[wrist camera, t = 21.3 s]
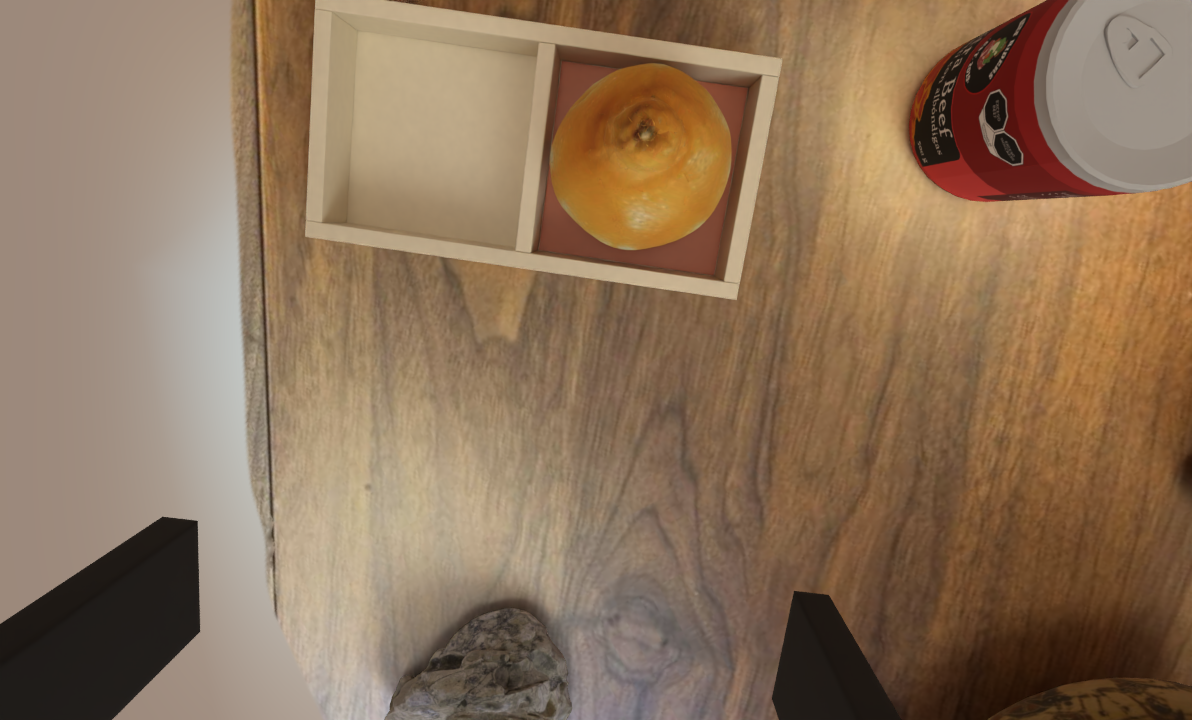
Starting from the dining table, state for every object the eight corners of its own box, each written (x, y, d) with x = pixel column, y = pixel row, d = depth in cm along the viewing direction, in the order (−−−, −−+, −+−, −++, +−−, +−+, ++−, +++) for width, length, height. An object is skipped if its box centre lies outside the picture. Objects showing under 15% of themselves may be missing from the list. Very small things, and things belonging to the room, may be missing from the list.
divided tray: (347, 14, 32) (315, -11, 29) (765, 75, 32) (783, 58, 29) (335, 235, 34) (304, 236, 31) (724, 292, 34) (736, 300, 31)
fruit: (621, 4, 29) (582, 59, 23) (770, 97, 30) (768, 172, 24) (551, 153, 34) (505, 227, 28) (679, 226, 36) (660, 312, 30)
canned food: (957, 11, 31) (1137, -100, 20) (1092, 90, 32) (1336, 22, 21) (872, 156, 33) (998, 123, 22) (1002, 228, 33) (1187, 231, 23)
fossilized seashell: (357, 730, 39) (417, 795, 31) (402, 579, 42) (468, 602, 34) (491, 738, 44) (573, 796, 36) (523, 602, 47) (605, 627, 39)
